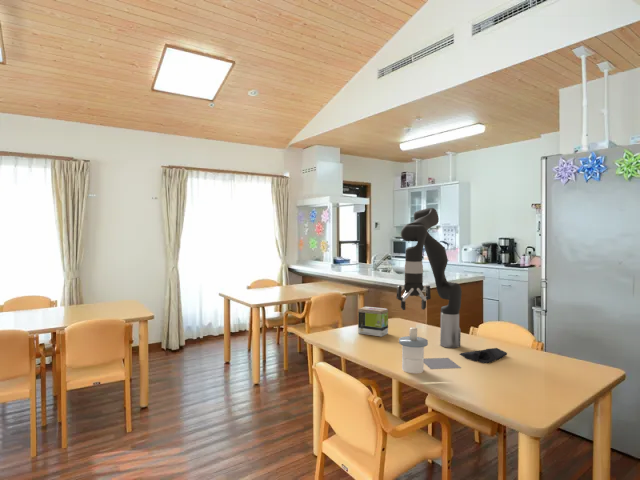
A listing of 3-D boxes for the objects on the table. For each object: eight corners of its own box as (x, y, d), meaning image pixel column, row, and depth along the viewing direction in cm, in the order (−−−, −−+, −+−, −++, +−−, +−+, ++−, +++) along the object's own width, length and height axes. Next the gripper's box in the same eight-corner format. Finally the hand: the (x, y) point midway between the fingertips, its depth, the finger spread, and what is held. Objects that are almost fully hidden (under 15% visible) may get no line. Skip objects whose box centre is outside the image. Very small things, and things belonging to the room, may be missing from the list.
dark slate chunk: (513, 359, 194) (513, 349, 193) (481, 366, 183) (481, 356, 183) (485, 350, 207) (486, 341, 207) (455, 357, 196) (455, 347, 196)
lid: (421, 339, 181) (421, 324, 181) (432, 347, 170) (432, 331, 169) (395, 339, 180) (395, 325, 180) (404, 347, 168) (404, 332, 168)
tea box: (388, 333, 238) (388, 308, 237) (381, 337, 229) (381, 311, 229) (365, 330, 246) (365, 305, 245) (357, 333, 237) (357, 308, 237)
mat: (448, 359, 192) (448, 357, 192) (461, 369, 178) (461, 367, 178) (419, 359, 190) (419, 358, 190) (430, 370, 176) (430, 368, 176)
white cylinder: (401, 373, 172) (401, 345, 172) (402, 366, 181) (402, 339, 180) (423, 375, 170) (423, 347, 169) (423, 368, 178) (423, 341, 178)
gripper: (426, 270, 178) (426, 307, 179) (394, 271, 177) (394, 308, 177) (433, 272, 171) (432, 311, 171) (400, 272, 169) (399, 311, 170)
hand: (413, 309), depth 174 cm, fingers open, 8 cm apart
